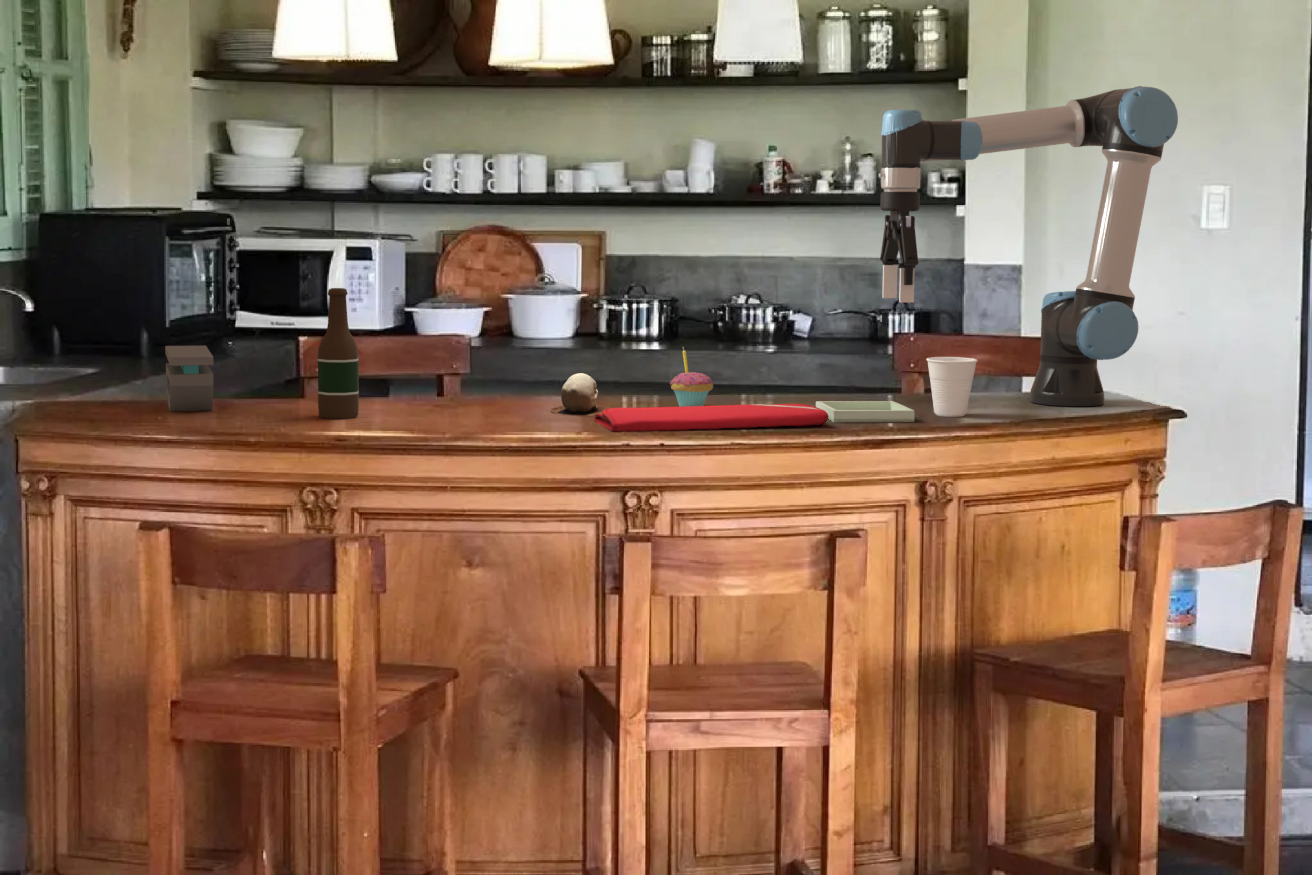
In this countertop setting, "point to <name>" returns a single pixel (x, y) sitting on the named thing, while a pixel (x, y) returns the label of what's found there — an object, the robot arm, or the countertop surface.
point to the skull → (579, 396)
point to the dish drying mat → (710, 417)
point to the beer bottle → (338, 363)
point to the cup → (951, 384)
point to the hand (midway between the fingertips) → (897, 300)
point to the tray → (866, 411)
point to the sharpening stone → (189, 378)
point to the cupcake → (691, 386)
